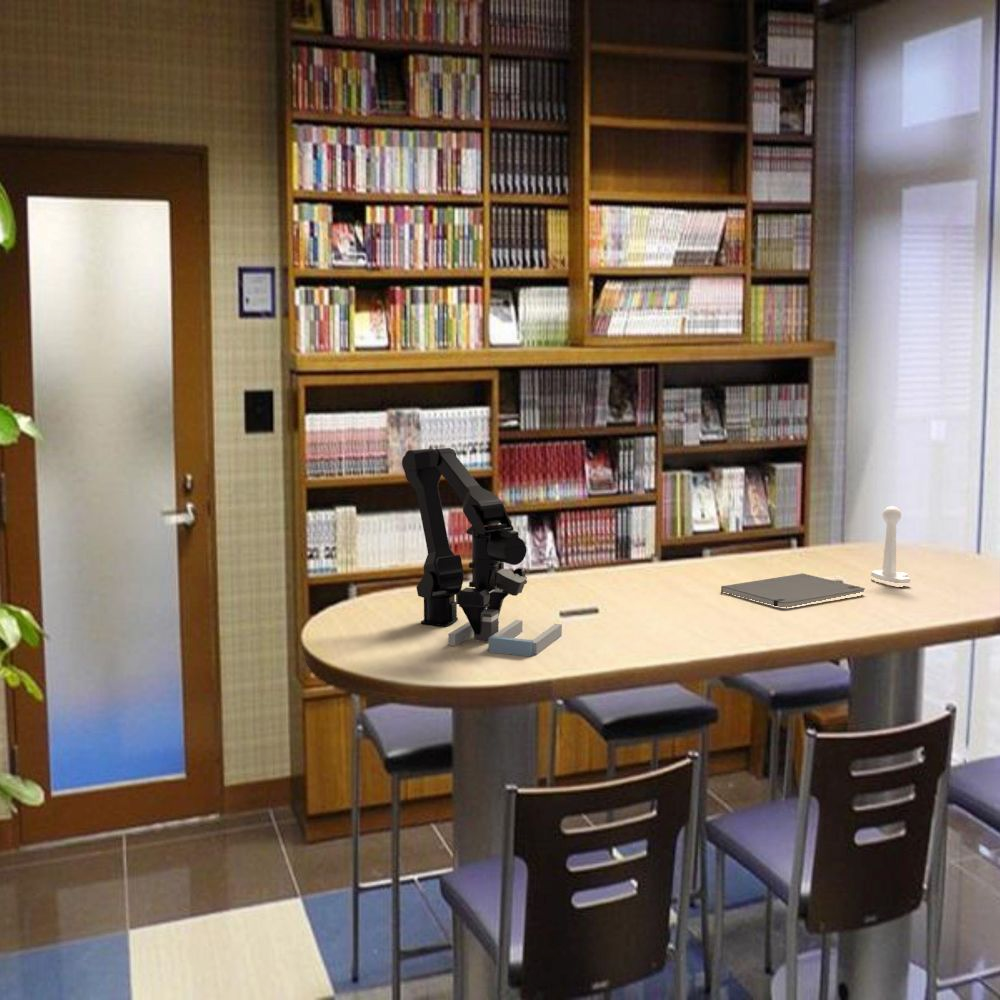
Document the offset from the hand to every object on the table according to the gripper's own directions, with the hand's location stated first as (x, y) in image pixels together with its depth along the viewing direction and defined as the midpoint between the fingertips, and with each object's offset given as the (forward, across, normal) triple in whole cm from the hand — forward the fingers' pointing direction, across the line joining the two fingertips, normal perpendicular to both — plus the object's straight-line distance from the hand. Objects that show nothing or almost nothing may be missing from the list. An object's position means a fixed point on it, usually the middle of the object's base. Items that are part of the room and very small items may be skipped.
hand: (486, 629), depth 259 cm
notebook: (+3, +66, -55) cm, 86 cm away
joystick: (+2, +88, -77) cm, 117 cm away
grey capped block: (+2, 0, 0) cm, 2 cm away
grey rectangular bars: (+2, 0, -4) cm, 5 cm away
